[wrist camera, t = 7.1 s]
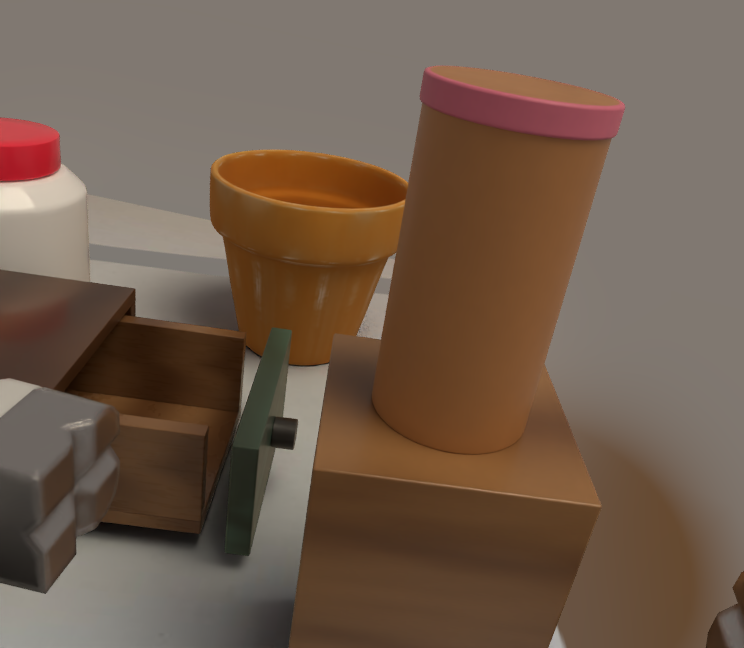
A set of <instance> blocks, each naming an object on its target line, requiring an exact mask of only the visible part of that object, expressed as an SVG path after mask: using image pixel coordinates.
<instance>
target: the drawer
mask: <svg viewBox="0 0 744 648" xmlns="http://www.w3.org/2000/svg"><path fill="white" fill-rule="evenodd" d="M246 334H247V333H246V332H241V331H234V330H226V329H219V328H212V327H205V326H198V325H191V324H184V323H177V322H169V321H162V320H155V319H148V318H141V317H134V316H127V315H124V316H123V317H122V318H121V320H120V321H119V322H118V324H117V325H116V326H115V327H114V329H113V330H112V331H111V332H110V334H109V335H108V336H107V337H106V339H105V340H104V341H103V343H102V344H101V345H100V346H99V348H98V349H97V350H96V351H95V353H94V354H93V355H92V356H91V358H90V359H89V360H88V362H87V363H86V364H85V365H84V367H83V368H82V369H81V370H80V372H79V373H78V374H77V375H76V377H75V378H74V379H73V381H72V382H71V383H70V384H69V386H68V387H67V388H66V389H65V391H64V392H65V393H68V394H72V395H76V396H79V397H83V398H86V399H90V400H94V401H97V402H101V403H105V404H108V405H112V406H114V407H115V408H116V409H117V410H118V411H119V416H120V434H119V435H118V436H117V437H116V438H115V440H114V441H113V442H112V443H111V444H110V446H111V447H112V449H113V450H114V452H115V453H116V455H117V456H118V458H119V459H120V476H119V481H118V486H117V491H116V494H115V496H114V498H113V500H112V503H111V505H110V507H109V510H108V512H107V514H106V515H105V516H104V518H103V519H102V520H101V522H109V523H117V524H124V525H132V526H140V527H148V528H156V529H164V530H172V531H180V532H188V533H195V534H200V533H201V530H202V527H203V524H204V521H205V518H206V515H207V512H208V509H209V506H210V503H211V500H212V497H213V495H214V492H215V489H216V486H217V483H218V480H219V477H220V474H221V471H222V468H223V465H224V462H225V459H226V456H227V453H228V451H229V448H230V445H231V442H232V439H233V436H234V433H235V430H236V427H237V424H238V421H239V418H240V414H241V401H242V387H243V374H244V360H245V347H246ZM291 337H292V330H288V329H281V328H274V327H273V328H271V331H270V334H269V337H268V340H267V343H266V346H265V349H264V352H263V355H262V358H261V361H260V364H259V367H258V370H257V373H256V376H255V379H254V382H253V385H252V388H251V391H250V394H249V397H248V399H247V402H246V405H245V408H244V411H243V414H242V417H241V420H240V423H239V426H238V429H237V432H236V435H235V438H234V441H233V444H232V450H231V465H230V479H229V493H228V508H227V522H226V536H225V553H229V554H237V555H245V556H249V554H250V551H251V547H252V543H253V539H254V535H255V531H256V527H257V523H258V518H259V514H260V510H261V506H262V502H263V498H264V494H265V490H266V485H267V481H268V477H269V473H270V469H271V465H272V461H273V457H274V452H275V448H282V449H290V450H293V449H294V446H295V440H296V434H297V427H298V420H297V419H292V418H284V417H283V411H284V402H285V392H286V383H287V374H288V364H289V355H290V346H291Z"/></svg>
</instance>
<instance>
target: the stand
mask: <svg viewBox="0 0 744 648" xmlns="http://www.w3.org/2000/svg"><path fill="white" fill-rule="evenodd" d="M380 344H381V340H379V339H372V338H365V337H358V336H351V335H344V334H336V333H335V334H334V336H333V342H332V349H331V355H330V361H329V368H328V374H327V381H326V387H325V393H324V400H323V406H322V413H321V419H320V426H319V432H318V438H317V445H316V451H315V458H314V464H313V471H312V478H311V485H310V493H309V500H308V507H307V514H306V522H305V529H304V536H303V544H302V551H301V558H300V566H299V573H298V580H297V588H296V595H295V602H294V610H293V617H292V624H291V632H290V639H289V646H288V648H548V647H549V644H550V642H551V639H552V636H553V634H554V631H555V629H556V626H557V623H558V620H559V618H560V615H561V613H562V610H563V608H564V605H565V602H566V600H567V597H568V595H569V592H570V589H571V587H572V584H573V582H574V579H575V576H576V574H577V571H578V568H579V566H580V563H581V561H582V558H583V555H584V553H585V550H586V548H587V545H588V542H589V540H590V537H591V535H592V532H593V529H594V527H595V524H596V521H597V519H598V516H599V513H600V511H601V508H602V505H601V503H600V500H599V498H598V495H597V493H596V491H595V488H594V486H593V483H592V481H591V478H590V476H589V473H588V471H587V468H586V466H585V463H584V461H583V458H582V456H581V453H580V451H579V449H578V446H577V443H576V441H575V439H574V436H573V434H572V431H571V429H570V426H569V424H568V421H567V419H566V416H565V414H564V411H563V409H562V406H561V404H560V402H559V399H558V396H557V394H556V391H555V389H554V387H553V384H552V382H551V379H550V377H549V374H548V372H547V369H546V367H545V364H544V366H543V370H542V373H541V376H540V380H539V383H538V386H537V390H536V393H535V396H534V400H533V403H532V406H531V410H530V413H529V416H528V420H527V423H526V426H525V430H524V433H523V434H522V436H521V437H520V438H519V439H518V440H517V441H516V442H515V443H514V444H512V445H511V446H509V447H507V448H505V449H503V450H499V451H496V452H491V453H485V454H459V453H451V452H446V451H441V450H437V449H433V448H430V447H427V446H424V445H421V444H419V443H417V442H414V441H412V440H410V439H408V438H406V437H405V436H403V435H401V434H400V433H398V432H397V431H395V430H394V429H392V428H391V427H390V426H389V425H388V424H387V423H386V422H385V421H384V420H383V419H382V418H381V417H380V416H379V414H378V413H377V411H376V409H375V407H374V404H373V401H372V390H373V384H374V378H375V372H376V367H377V361H378V355H379V349H380Z"/></svg>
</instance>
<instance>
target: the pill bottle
mask: <svg viewBox="0 0 744 648" xmlns="http://www.w3.org/2000/svg"><path fill="white" fill-rule="evenodd" d="M0 270H7V271H14V272H22V273H29V274H36V275H43V276H50V277H57V278H64V279H71V280H78V281H85V282H90V259H89V232H88V205H87V188H86V186H85V184H84V183H83V182H82V181H81V179H80V178H78V177H77V176H76V175H75V174H74V173H73V172H72V171H70V170H69V169H68V168H67V167H66V166H65V165H63V164H62V163H61V156H60V135H59V133H58V132H57V131H56V130H55V129H53V128H51V127H48V126H46V125H43V124H39V123H35V122H31V121H25V120H18V119H9V118H0Z"/></svg>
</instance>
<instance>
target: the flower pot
mask: <svg viewBox="0 0 744 648" xmlns="http://www.w3.org/2000/svg"><path fill="white" fill-rule="evenodd" d="M407 188H408V182H406V181H405V180H404V179H402V178H401V177H399V176H398V175H396V174H394V173H392V172H390V171H388V170H385V169H383V168H380V167H377V166H374V165H371V164H368V163H364V162H361V161H357V160H353V159H349V158H344V157H339V156H334V155H328V154H322V153H313V152H305V151H294V150H252V151H244V152H236V153H232V154H228V155H226V156H223V157H221V158H219V159H217V160H216V161H215V162H214V163H213V164H212V167H211V176H210V217H211V222H212V225H213V226H214V228H215V229H216V231H217V232H218V233H219V234H220V235H222V236H223V240H224V245H225V251H226V257H227V264H228V270H229V277H230V283H231V289H232V295H233V300H234V306H235V311H236V317H237V323H238V328H239V331H241V332H246V333H247V334H246V346H248V347H249V348H250V349H251V350H252V351H253V352H255V353H256V354H258V355H260V356H262V355H263V352H264V349H265V346H266V343H267V340H268V337H269V334H270V331H271V328H273V327H274V328H281V329H288V330H292V337H291V346H290V355H289V364H292V365H318V364H324V363H328V362H329V361H330V355H331V349H332V342H333V336H334V334H335V333H336V334H344V335H351V336H356V335H357V333H358V330H359V328H360V325H361V323H362V321H363V318H364V316H365V314H366V311H367V309H368V306H369V304H370V301H371V299H372V296H373V293H374V291H375V288H376V286H377V283H378V281H379V278H380V276H381V274H382V271H383V269H384V266H385V264H386V262H387V259H388V257H390V256H392V255H393V254H395V253H396V252H397V246H398V240H399V234H400V229H401V223H402V217H403V211H404V206H405V200H406V194H407Z"/></svg>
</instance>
